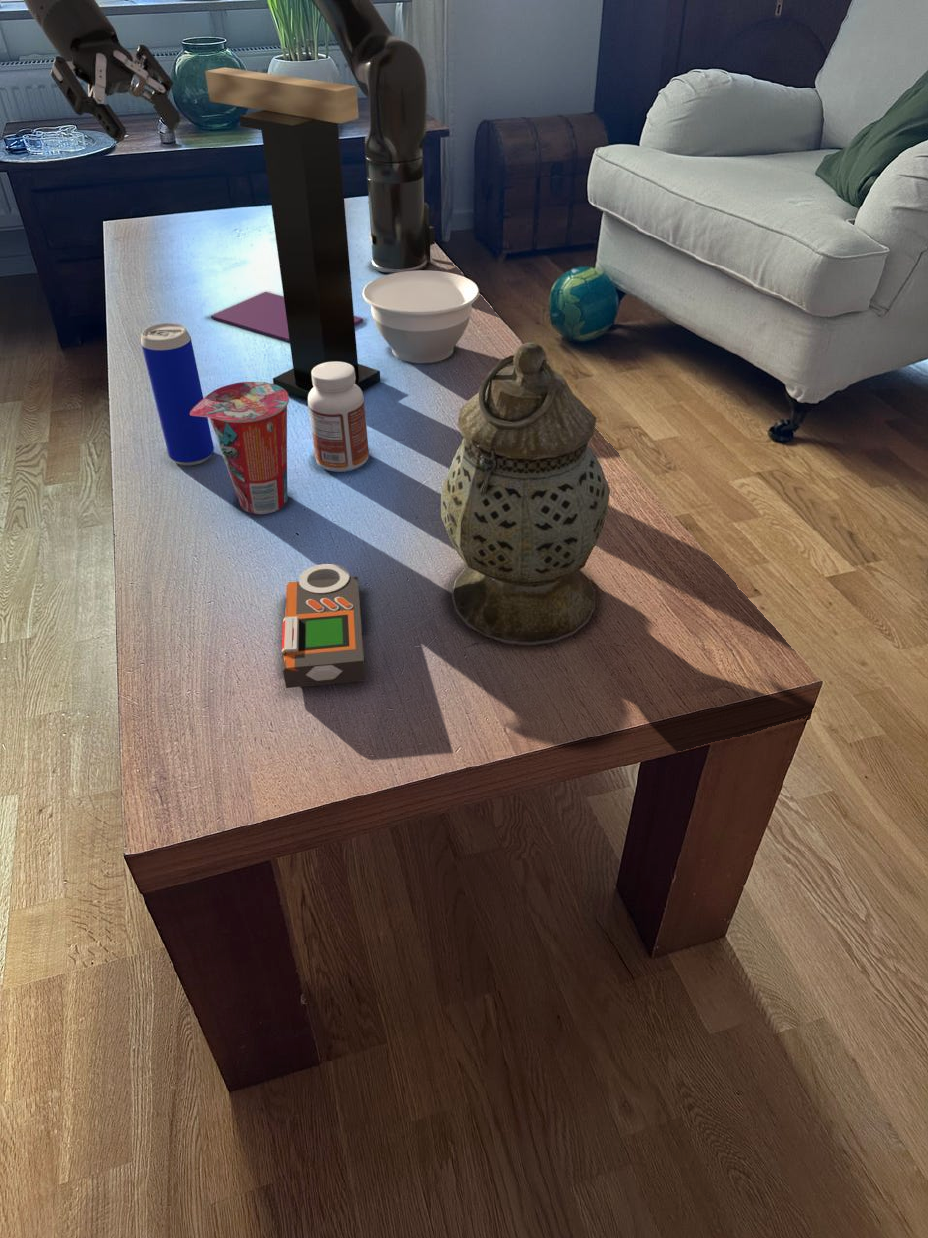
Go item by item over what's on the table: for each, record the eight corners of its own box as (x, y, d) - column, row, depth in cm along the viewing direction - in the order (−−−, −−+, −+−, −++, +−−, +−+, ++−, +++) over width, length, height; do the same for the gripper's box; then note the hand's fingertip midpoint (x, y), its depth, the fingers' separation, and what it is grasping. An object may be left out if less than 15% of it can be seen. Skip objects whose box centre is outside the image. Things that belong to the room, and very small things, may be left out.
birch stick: (209, 101, 101) (204, 70, 99) (229, 96, 103) (224, 66, 101) (340, 123, 92) (337, 90, 90) (359, 118, 94) (356, 86, 92)
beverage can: (220, 446, 105) (195, 322, 95) (206, 468, 101) (179, 342, 91) (178, 444, 105) (149, 320, 96) (163, 466, 101) (131, 340, 92)
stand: (273, 388, 116) (232, 114, 96) (325, 362, 123) (296, 99, 102) (330, 409, 112) (299, 126, 91) (380, 381, 118) (362, 110, 97)
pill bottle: (358, 442, 106) (350, 353, 98) (377, 466, 101) (370, 375, 94) (308, 453, 104) (296, 364, 96) (325, 478, 99) (314, 386, 92)
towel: (265, 293, 142) (265, 291, 142) (362, 320, 134) (362, 318, 134) (211, 318, 135) (210, 315, 134) (310, 348, 126) (309, 345, 126)
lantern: (623, 628, 80) (664, 366, 63) (477, 666, 76) (479, 398, 60) (557, 543, 90) (577, 298, 73) (425, 573, 86) (415, 322, 70)
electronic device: (356, 558, 84) (363, 660, 72) (359, 584, 86) (366, 686, 74) (284, 564, 83) (279, 667, 71) (288, 590, 85) (284, 694, 73)
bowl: (459, 322, 133) (459, 264, 128) (494, 365, 122) (495, 304, 116) (356, 335, 130) (351, 276, 124) (381, 381, 118) (377, 318, 113)
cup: (263, 472, 100) (246, 373, 92) (319, 496, 97) (306, 394, 89) (201, 510, 94) (177, 407, 87) (257, 536, 91) (237, 431, 83)
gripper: (24, -6, 102) (112, 120, 105) (124, -14, 111) (203, 101, 114) (11, 44, 108) (95, 162, 110) (107, 32, 117) (183, 141, 119)
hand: (150, 131), depth 112 cm, fingers open, 8 cm apart
